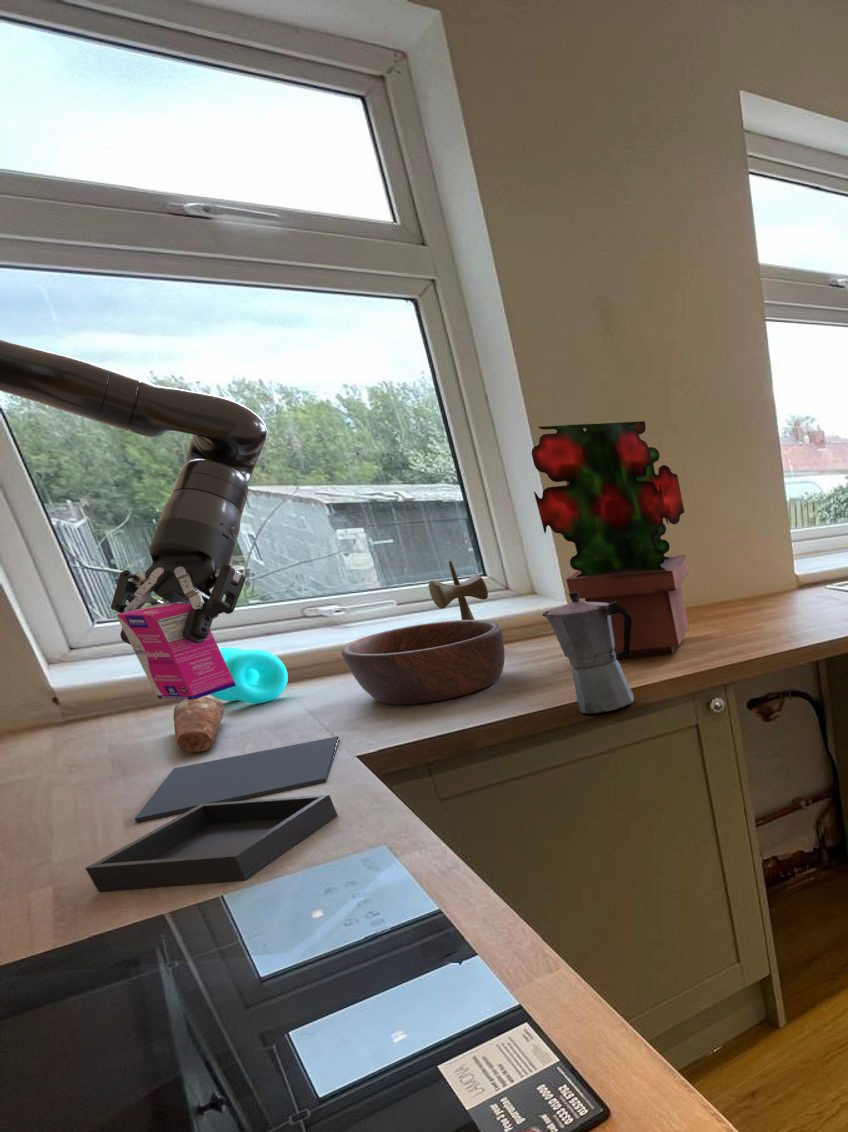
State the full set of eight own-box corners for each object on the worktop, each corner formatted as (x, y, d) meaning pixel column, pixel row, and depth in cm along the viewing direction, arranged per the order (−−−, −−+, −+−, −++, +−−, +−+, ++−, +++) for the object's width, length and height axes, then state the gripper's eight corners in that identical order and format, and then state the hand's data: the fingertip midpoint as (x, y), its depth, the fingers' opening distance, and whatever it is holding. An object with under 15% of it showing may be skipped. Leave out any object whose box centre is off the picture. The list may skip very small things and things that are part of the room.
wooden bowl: (521, 690, 151) (505, 636, 147) (357, 722, 138) (335, 664, 134) (508, 660, 170) (494, 612, 166) (363, 686, 157) (344, 635, 153)
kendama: (448, 656, 175) (418, 563, 167) (495, 645, 182) (469, 555, 174) (459, 660, 172) (429, 565, 164) (507, 649, 179) (480, 557, 171)
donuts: (241, 711, 146) (217, 658, 142) (205, 707, 149) (181, 655, 145) (300, 693, 155) (279, 643, 151) (265, 690, 158) (244, 640, 154)
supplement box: (155, 700, 105) (112, 613, 100) (203, 685, 110) (165, 602, 106) (192, 700, 104) (150, 613, 99) (238, 685, 109) (201, 601, 105)
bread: (230, 719, 143) (217, 689, 140) (220, 750, 129) (205, 718, 126) (182, 728, 139) (168, 698, 137) (167, 762, 125) (150, 728, 123)
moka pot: (580, 698, 145) (551, 587, 137) (664, 695, 145) (640, 583, 137) (552, 717, 136) (519, 599, 129) (641, 714, 136) (613, 596, 128)
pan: (98, 892, 90) (84, 868, 89) (211, 825, 104) (201, 803, 103) (245, 880, 91) (234, 856, 90) (338, 815, 105) (329, 794, 104)
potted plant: (695, 657, 166) (647, 421, 148) (579, 668, 162) (517, 427, 144) (707, 630, 186) (666, 420, 168) (604, 640, 182) (552, 425, 164)
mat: (136, 822, 106) (134, 818, 106) (175, 771, 121) (173, 768, 121) (326, 781, 115) (324, 778, 115) (339, 739, 131) (338, 736, 131)
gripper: (113, 518, 105) (71, 630, 99) (229, 512, 106) (194, 623, 100) (167, 552, 112) (131, 659, 106) (276, 547, 113) (246, 652, 107)
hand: (162, 641), depth 103 cm, fingers closed on supplement box, 6 cm apart
